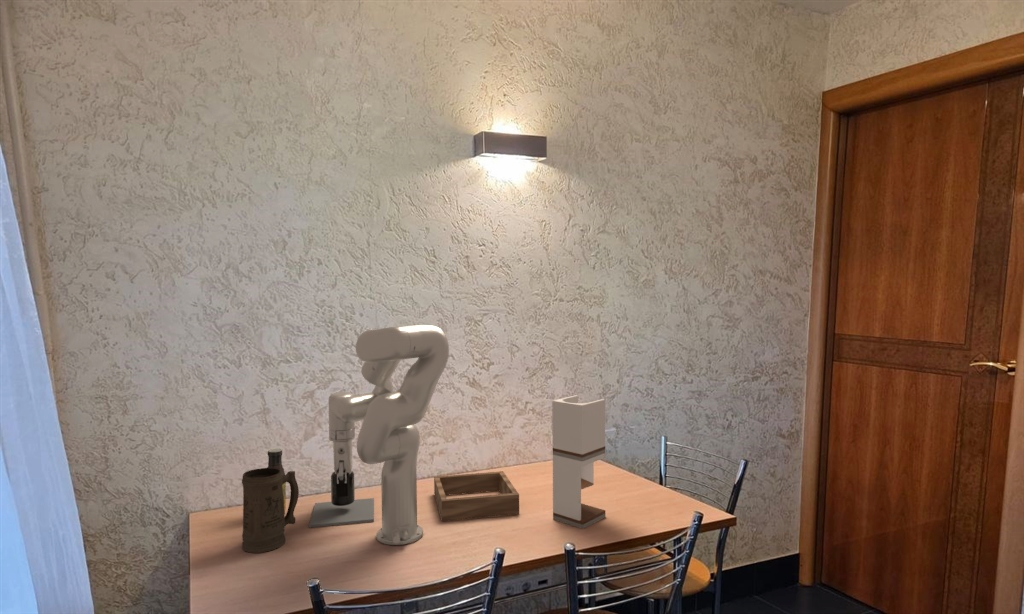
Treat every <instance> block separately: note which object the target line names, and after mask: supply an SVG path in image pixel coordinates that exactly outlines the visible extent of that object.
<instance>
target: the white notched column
mask: <svg viewBox="0 0 1024 614" xmlns="http://www.w3.org/2000/svg"><path fill="white" fill-rule="evenodd" d="M551 402H552V411H551V412H552V416H551V417H552V520H555V521H556V522H557V521H558V522H560V523H563V524H566V525H569V526H571V527H575V528H579V529H581V530H583V529H585V528H587V527H590V526H591V525H593V524H595V523H597V522H599V521H601V520H603V519H605V518H606V510H605V509H602V508H598V507H596V506H592V505H588V504H585V503H582V490H584V489H587V488H589V487H592V486H594V485H595V484H594V480H595V479H594V477H595V476H594V471H595V470H594V469H595V468H594V467H595V466H594V463H595V462H598V461H600V460H602V459H605V458H606V399H604V398H601V399H598V400H593V401H589V402H580V403H579V395H576V394H575V395H572V396H566V397H562V398H558V399H554V400H552V401H551Z"/></svg>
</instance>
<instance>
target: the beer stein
mask: <svg viewBox="0 0 1024 614" xmlns="http://www.w3.org/2000/svg"><path fill="white" fill-rule="evenodd" d="M285 482H286V483H288V484H289V486H290V487H289V488H290V496H289V497H290V498H289V503H288V509H287V511H286V513H285V514H284V495H283V491H282V485H283V484H284V483H285ZM241 484H242V488H243V489H242V490H243V494H242V495H243V498H242V501H243V504H242V505H243V507H242V525H243V526H242V536H241V537H242V543H241V548H242V550H243V551H245V552H247V553H251V554H252V553H253V554H256V553H257V554H261V553H267V551H268V552H270V551H274V550H277V549H279V548H280V547H282V546H283V545H284V544H285V543H286V537H285V527H286V526H288V525H295V524H296V522H297V521H296V517H295V515H294V512H295V509H296V506H297V504H298V501H299V494H300V493H299V486H298V485H299V484H298V482H297V479H296V472H295V470H292V471H291V470H289V471H287V473H285V475H284V476H282V472H281V470H280V469H277V468H267V467H261V468H255V469H251V470H247V471H245V472H244V473H243V474H242V479H241ZM276 548H277V549H276Z"/></svg>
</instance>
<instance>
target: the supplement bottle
mask: <svg viewBox="0 0 1024 614" xmlns="http://www.w3.org/2000/svg"><path fill="white" fill-rule="evenodd" d="M344 472H345V471H344ZM344 477H345V475H344ZM347 482H348V496H345V497H337V493H336V483H337V474H335V470H334V471H333V472H332V473H331V475H330V493H331V494H330V497H331V498H330V502H332V504H333V505H336V506H345V505H349V504H351V503H353V502H354V500H356V498H355V489H356V488H355V473H354V471H353V470H352V472H351V473H350V474H349V473H347Z"/></svg>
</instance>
